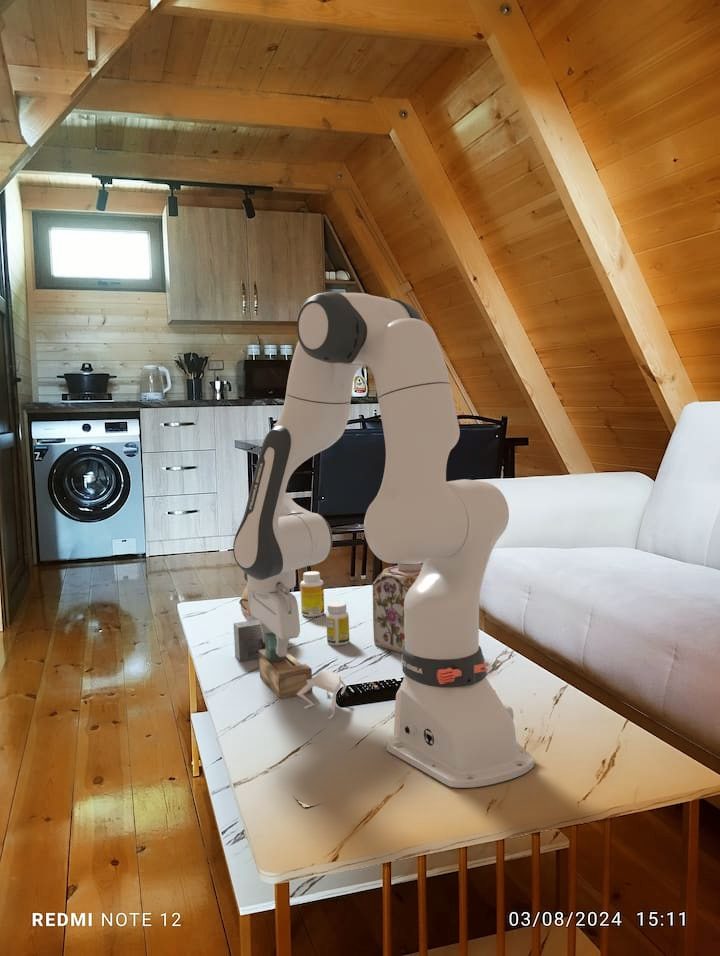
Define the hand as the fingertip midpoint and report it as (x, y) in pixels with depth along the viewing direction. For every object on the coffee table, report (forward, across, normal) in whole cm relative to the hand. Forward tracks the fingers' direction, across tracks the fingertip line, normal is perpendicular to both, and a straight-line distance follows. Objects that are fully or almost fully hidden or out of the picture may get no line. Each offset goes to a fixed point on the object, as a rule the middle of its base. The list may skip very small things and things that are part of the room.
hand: (274, 649), depth 147 cm
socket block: (+5, +13, 0) cm, 14 cm away
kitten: (+5, +22, -5) cm, 24 cm away
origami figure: (+5, -19, -3) cm, 20 cm away
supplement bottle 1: (+5, +36, -21) cm, 42 cm away
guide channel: (+5, -6, 0) cm, 7 cm away
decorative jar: (+5, +4, -31) cm, 32 cm away
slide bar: (+4, -2, 0) cm, 4 cm away
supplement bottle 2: (+5, +12, -18) cm, 23 cm away
